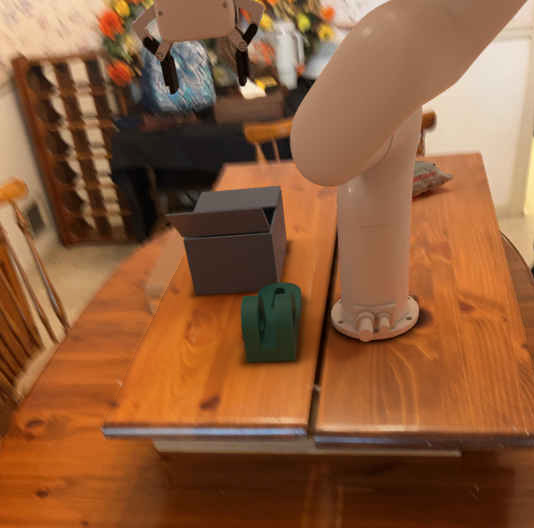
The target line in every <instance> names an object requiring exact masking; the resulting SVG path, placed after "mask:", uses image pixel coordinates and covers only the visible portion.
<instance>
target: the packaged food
mask: <svg viewBox="0 0 534 528" xmlns="http://www.w3.org/2000/svg"><path fill="white" fill-rule="evenodd" d="M453 179H454V174H452V173H448V172H444V171H443V170H442V169H440V168H438V167H437V166H436V163H434V162H430V161H429V162H428V161H422V160H415V165H414V174H413V187H412V198H414V197H416V196H419V195H422V194H426V193H428V192H430V191H432V190H435V189H437V188H439V187H442V186H444V185H445V184H446V183H449V182H450V181H452V180H453Z"/></svg>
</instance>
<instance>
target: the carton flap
mask: <svg viewBox="0 0 534 528" xmlns="http://www.w3.org/2000/svg"><path fill="white" fill-rule="evenodd" d="M165 218H166V219H167V220H168V221H169V223H170V224H171V225H172V226H173V228H174V229H175V230H176V231H177V232H178V234H179V236H181V238H184V237H196V236H209V235H222V234H235V233H248V232H262V231H271V229H270V226H269V224H268V221H267V219H266V216H265V214H264V212H263V209H262V207H261V206H260V207H248V208H236V209H223V210H211V211H199V212H193V211H190V212H189V211H187V212H177V213H176V212H175V213H165Z"/></svg>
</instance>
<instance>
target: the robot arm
mask: <svg viewBox="0 0 534 528" xmlns="http://www.w3.org/2000/svg"><path fill="white" fill-rule="evenodd" d="M528 1H529V0H388V1H385V2H384V3H382V4H379V5H378V6H376V7H374V8H373V9H371V10H370V11H368V12H367V13H366V14H365V15H364V16H363V17H362V18H360V19H359V21H357V22H356V23H355V25H354V26H353V27H352V28H351V29H350V30H349V32H348V33H347V34H346V35H345V37H344V38H343V40H342V41H341V43H340V44H339V46H338V47H337V48H336V50H335V51H334V53H333V54H332V56H331V57H330V59H329V60H328V62H327V63H326V65H325V66H324V68H323V69H322V71H321V72H320V74H319V75H318V76H317V79H315V81H314V83H313V84H312V86H311V87H310V89H309V90H308V92H307V93H306V95H304V98H303V99H302V101H301V103H300V104H299V106H298V108H297V110H296V112H295V114H294V117H293V119H292V123H291V126H290V133H289V134H290V135H289V147H290V153H291V157H292V160H293V163H294V165H295V167H296V168H297V170H298V172H299V174H301V175H302V177H304V178H305V179H306V180H308V182H310V183H312V184H315V185H317V186H320V187H323V188H324V187H325V188H335V187H336V222H337V223H336V224H337V226H336V227H337V243H338V244H337V246H338V261H339V262H338V267H339V284H340V287H339V288H340V298H339V300H337V301H336V302H335V303H334V305H333V306H332V309H331V311H330V318H331V323H332V326H333V327H334V328H335V329H336V330H337V331H338V332H339V333H341V334H342V335H345V336H346V337H350V338H353V339H357V340H360V341H361V342H366V343H367V342H370V341H377V340H386V339H391V338H394V337H397V336H399V335H402V334H404V333H406V332H407V331H409V330H410V329H412V328H413V327H414V326H415V325H416V324H417V322H418V319H419V315H420V307H419V304H418V302H417V301H416V300H415V299H414V298H413V297H412V296H410V295H409V290H410V289H409V287H410V286H409V285H410V262H411V261H410V260H411V259H410V257H411V226H412V224H411V223H412V211H413V210H412V207H413V197H412V187H413V174H414V165H415V161H416V158H417V152H418V147H419V142H420V137H421V136H420V135H421V131H422V124H423V106H424V105H426V104H427V103H429V102H430V101H432V100H434V99H435V98H436V97H438V96H440V95H442V94H443V93H444V92H446V91H447V90H449V89H450V88H451V87H453V86H454V85H455V84H457V83H458V82H459V81H460V80H461V78H463V76H464V75H465V74H466V73H467V71H468V70H469V69H470V68H471V66H472V65H473V64H474V63H475V61H476V60H477V59H478V58H479V57H480V55H481V54H482V53H483V52H484V51H485V50H486V49H487V48H488V47H489V46H490V44H491V43H492V42H493V41H494V40H495V39H496V38H497V36H498V35H499V34H501V32H502V31H503V30H504V28H505V27H507V25H508V24H509V23H510V22H511V21H512V20H513V19H514V18H515V16H516V15H517V14H518V13H519V11H520V10H521V9H522V8H523V6H525V4H526V3H527V2H528ZM239 9H241V10H243V11H245V12H247V13H249V14H250V21H249V24H248V26H247V28H246V30H245V31H243V30H242V29H241V27H240V26H239V25H238V24H239V20H240V13H239ZM264 12H265V5H264V4H263V3H261V2H259V1H257V0H153V4H152V5H151V6H149V7H148V8H147V9H146V10H145V11H144V12H143V13H142V14H141V15H140V16H138V18H136V19H135V20H134V21H133V22H132V23H131V29H132V30H133V31H134V33H135V34H136V36H137V37H138V39H139V41H141V43H142V45H143V47H144V48H145V49H146V50H147V51H148V52H150V53H151V54H152V55H153V56H154V57H155V59H156V60H157V61H158V62H159V64H160V68H161V69H160V70H161V73H162V74H161V75H162V79H163V83H164V86H165V87H167V88H168V90H169V94H170V95H172V96H173V95H175V94H176V93H177V92H178V90H179V89H180V82H179V81H180V80H179V76H178V72H177V66H176V62H175V60H176V59H175V57H174V56H173V54H171V50H172V47H173V45H174V43H183V42H191V41H199V40H207V39H214V38H221V37H227V38H228V39H229V40H230V42H231V43H232V44H233V45H234V46H235V47H236V51H235V52H234V57H235V64H236V65H235V66H236V70H237V72H236V73H237V79H238V86H240V87H242V88H243V87H246V85H247V83H248V78H250V77H251V74H252V73H251V65H250V57H249V49H248V47H249V45H250V44H251V43H252V41H253V39H254V38H255V36H256V34H257V33H258V31H259V29H260V26H261V22H262V18H263V15H264ZM154 19H156V26H157V30H158V33H159V36H160V38H161V41H160V42H159V41H158V40H157V38H155V37H154V36H153V35H151V33H150V31H149V29H148V25H149V24H150V23H151V22H152V21H153V20H154Z"/></svg>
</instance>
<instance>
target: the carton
mask: <svg viewBox="0 0 534 528" xmlns="http://www.w3.org/2000/svg"><path fill="white" fill-rule="evenodd" d="M281 186H282V185H271V186H260V187H249V188H238V189H237V188H236V189H226V190H225V189H224V190H213V191H201V193H200V195H199V197H198V199H197V201H196V203H195V206H194V208H193V211H192V212H199V211H211V210H223V209H236V208H248V207H260V206H261V207H262V209H263V212H264V214H265V216H266V219H267V221H268V224H269V226H270V229H271V231H262V232H248V233H235V234H222V235H209V236H196V237H183V240H182V243H183V246H184V250H185V255H186V259H187V264H188V269H189V272H190V278H191V282H192V287H193V290H194V294H195V296H203V295H207V296H208V295H220V294H237V293H255V292H257V293H258V292H259V291H260V290H261V289H262V288H263V287H265V286H267V285H270V284H273V283H279V282H281V279H282V272H283V266H284V261H285V256H286V251H287V246H288V240H287V238H288V237H287V229H286V220H285V219H286V218H285V211H284V201H283V191H282V189H281Z"/></svg>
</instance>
